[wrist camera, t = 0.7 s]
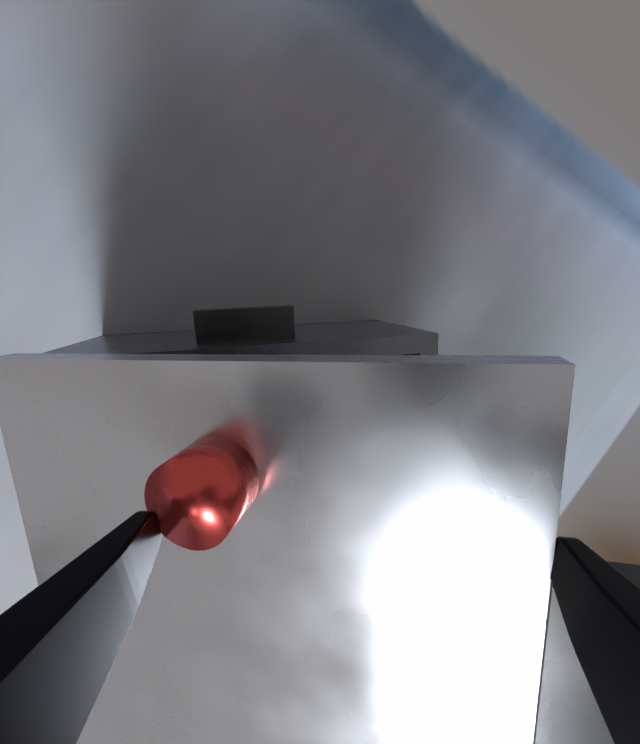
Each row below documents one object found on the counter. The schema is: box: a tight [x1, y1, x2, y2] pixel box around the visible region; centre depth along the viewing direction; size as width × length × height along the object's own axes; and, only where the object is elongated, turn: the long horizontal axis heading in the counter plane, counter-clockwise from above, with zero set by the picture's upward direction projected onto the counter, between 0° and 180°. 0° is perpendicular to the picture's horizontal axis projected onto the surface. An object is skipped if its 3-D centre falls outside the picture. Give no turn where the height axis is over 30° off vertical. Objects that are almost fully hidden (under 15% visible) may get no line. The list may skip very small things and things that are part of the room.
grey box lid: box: [0, 353, 640, 744], centre depth 11 cm, size 17×20×3 cm
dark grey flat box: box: [45, 305, 438, 355], centre depth 20 cm, size 19×16×8 cm
